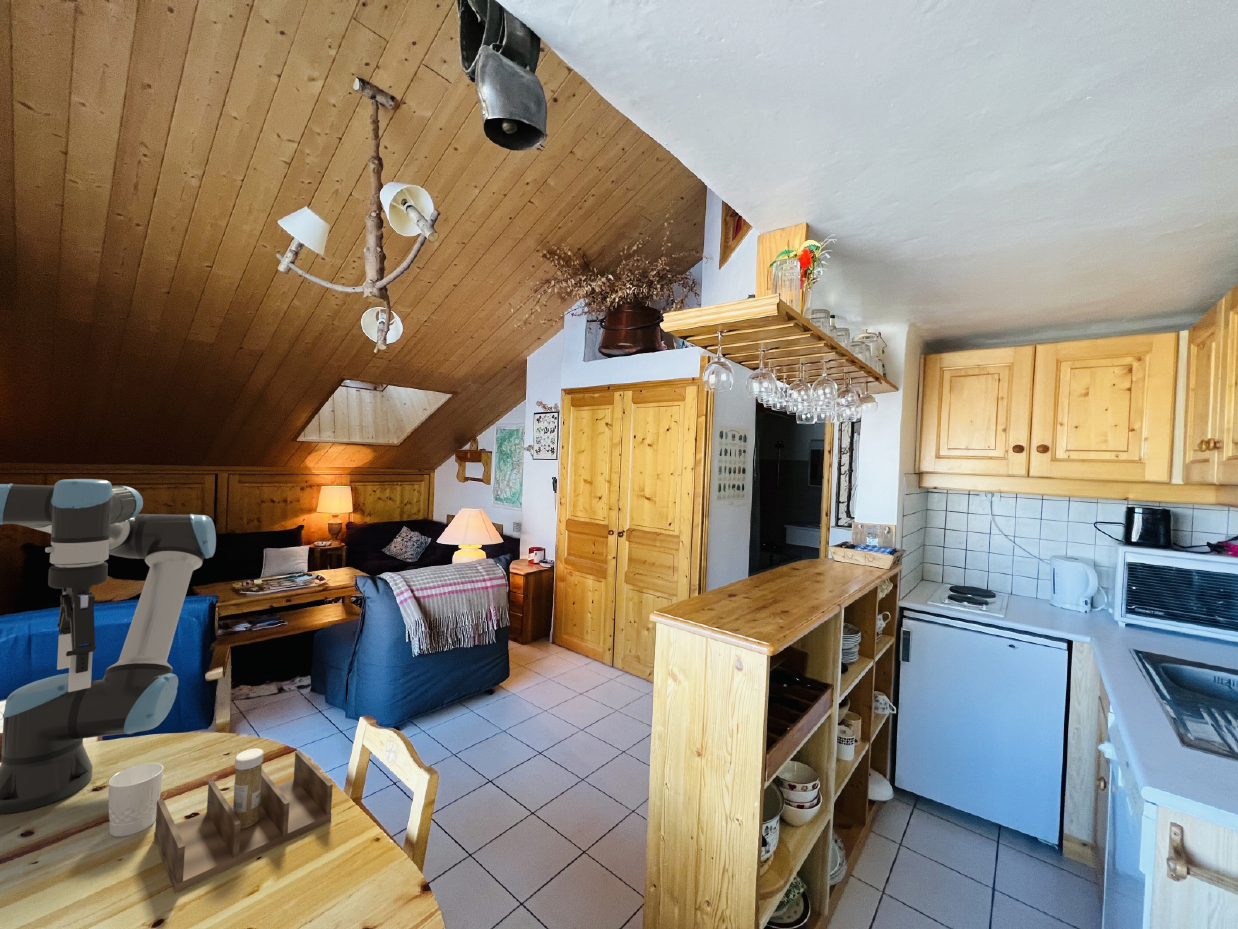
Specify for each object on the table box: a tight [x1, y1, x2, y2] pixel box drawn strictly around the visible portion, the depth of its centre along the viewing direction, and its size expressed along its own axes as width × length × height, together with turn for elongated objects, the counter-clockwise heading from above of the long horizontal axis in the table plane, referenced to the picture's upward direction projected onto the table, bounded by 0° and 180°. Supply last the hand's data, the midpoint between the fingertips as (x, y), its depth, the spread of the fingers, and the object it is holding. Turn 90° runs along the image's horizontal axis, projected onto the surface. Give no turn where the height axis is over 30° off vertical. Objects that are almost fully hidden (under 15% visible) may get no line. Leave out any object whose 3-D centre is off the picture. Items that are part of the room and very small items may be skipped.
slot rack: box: [153, 750, 334, 895], centre depth 101 cm, size 18×24×8 cm
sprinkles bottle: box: [233, 748, 264, 829], centre depth 101 cm, size 5×5×14 cm
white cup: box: [107, 762, 164, 837], centre depth 101 cm, size 8×8×10 cm
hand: (73, 678), depth 95 cm, fingers open, 13 cm apart
